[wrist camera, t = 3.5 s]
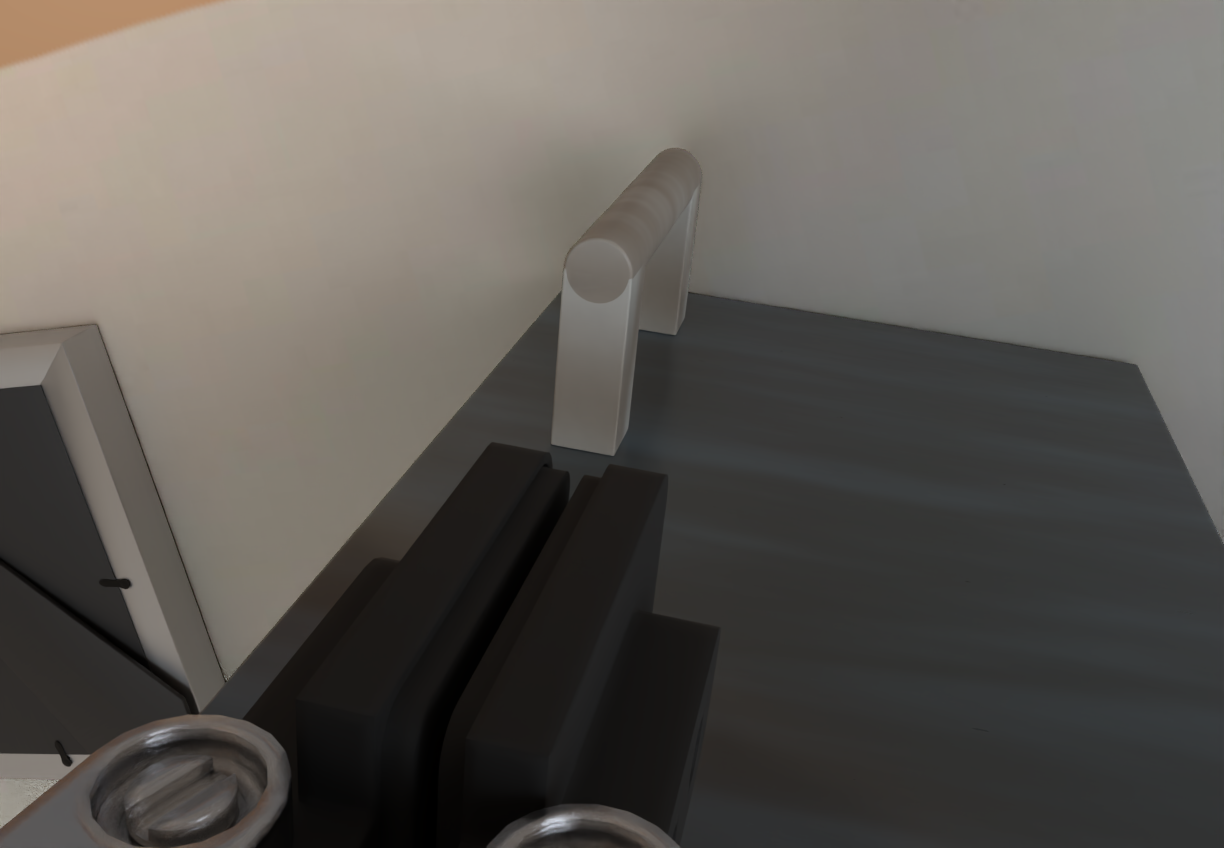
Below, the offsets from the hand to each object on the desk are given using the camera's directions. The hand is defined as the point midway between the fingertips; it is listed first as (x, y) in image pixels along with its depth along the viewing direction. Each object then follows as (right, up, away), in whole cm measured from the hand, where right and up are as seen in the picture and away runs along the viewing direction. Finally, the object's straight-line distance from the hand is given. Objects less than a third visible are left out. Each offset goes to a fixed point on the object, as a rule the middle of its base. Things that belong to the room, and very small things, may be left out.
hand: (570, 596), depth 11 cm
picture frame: (-25, -4, +40) cm, 48 cm away
